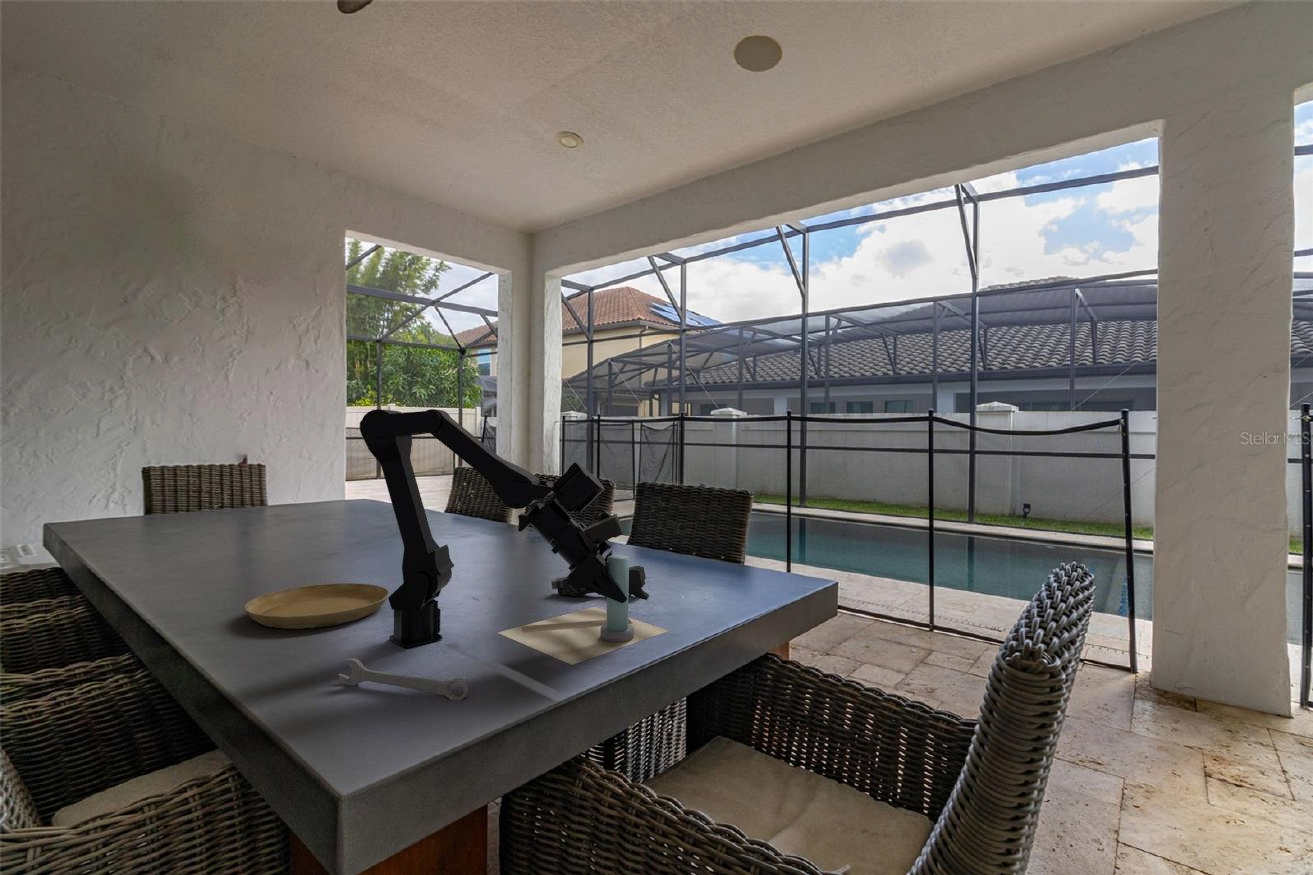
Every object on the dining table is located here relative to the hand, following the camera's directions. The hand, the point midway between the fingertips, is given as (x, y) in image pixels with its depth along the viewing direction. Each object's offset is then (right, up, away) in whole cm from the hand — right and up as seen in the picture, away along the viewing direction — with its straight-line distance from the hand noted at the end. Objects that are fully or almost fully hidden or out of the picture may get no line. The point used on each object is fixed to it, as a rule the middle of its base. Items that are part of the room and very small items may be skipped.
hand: (625, 597), depth 102 cm
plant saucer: (-59, -7, +14) cm, 61 cm away
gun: (-7, -8, +28) cm, 30 cm away
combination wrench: (-30, -8, -20) cm, 36 cm away
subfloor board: (-7, -8, +3) cm, 11 cm away
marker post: (-1, -7, 0) cm, 7 cm away
